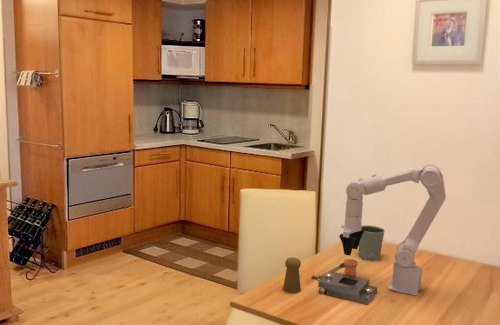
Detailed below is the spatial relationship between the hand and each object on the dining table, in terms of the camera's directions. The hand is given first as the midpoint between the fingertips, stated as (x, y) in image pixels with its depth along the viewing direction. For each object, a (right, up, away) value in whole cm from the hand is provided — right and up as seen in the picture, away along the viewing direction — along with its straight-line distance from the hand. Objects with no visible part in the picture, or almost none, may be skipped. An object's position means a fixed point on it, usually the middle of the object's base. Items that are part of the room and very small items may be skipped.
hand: (350, 251), depth 180 cm
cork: (-22, -12, -8) cm, 26 cm away
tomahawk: (-5, -10, +8) cm, 14 cm away
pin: (0, -11, +2) cm, 11 cm away
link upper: (-4, -12, -9) cm, 15 cm away
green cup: (+13, -7, +26) cm, 30 cm away
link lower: (-2, -12, -10) cm, 16 cm away
